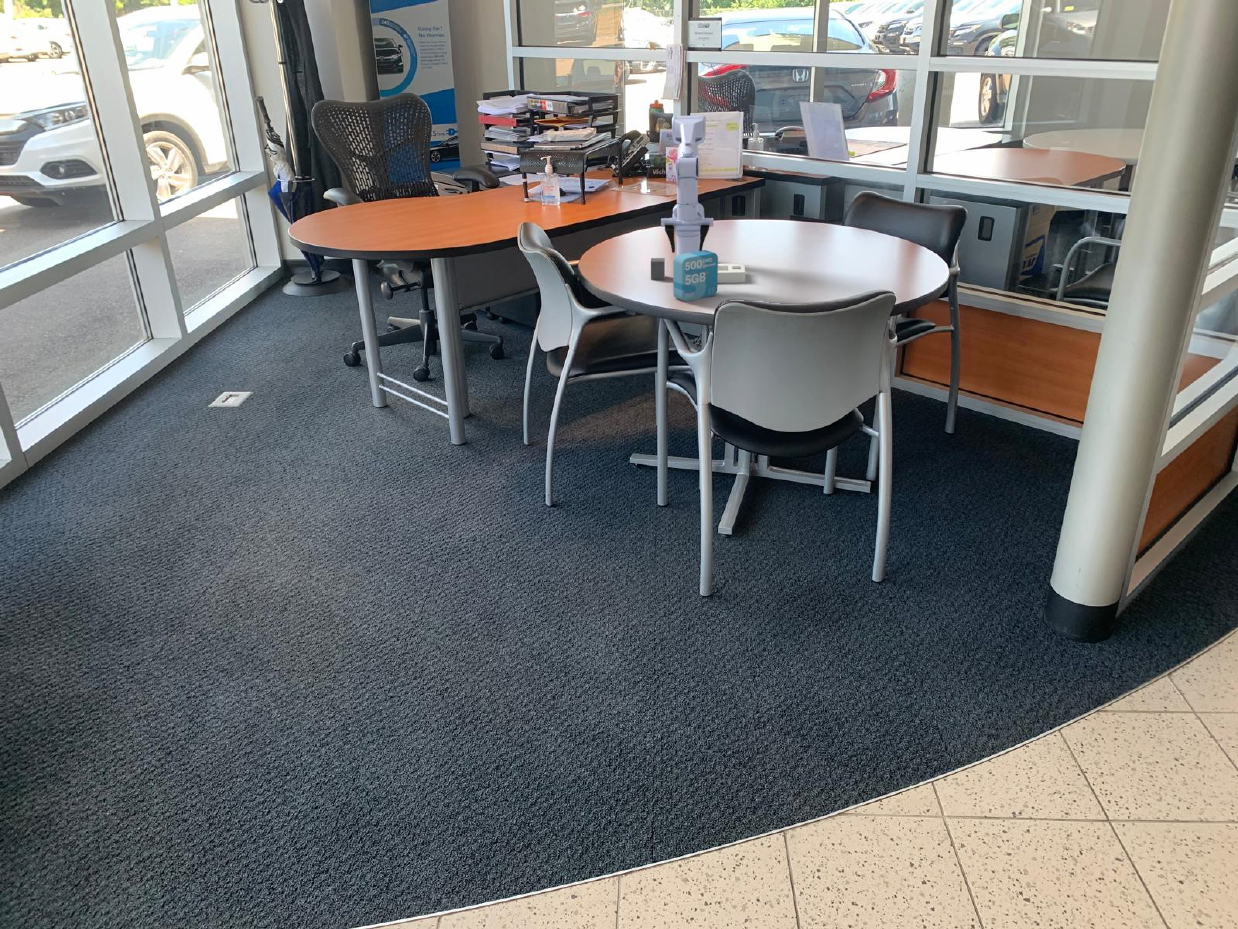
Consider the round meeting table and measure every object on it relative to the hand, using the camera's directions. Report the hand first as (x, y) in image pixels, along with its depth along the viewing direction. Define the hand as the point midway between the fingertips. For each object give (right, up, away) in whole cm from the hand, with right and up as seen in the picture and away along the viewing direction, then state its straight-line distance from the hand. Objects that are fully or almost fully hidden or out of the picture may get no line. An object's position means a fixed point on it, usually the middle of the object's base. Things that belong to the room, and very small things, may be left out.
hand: (687, 251), depth 257 cm
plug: (-8, -5, +14) cm, 16 cm away
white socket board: (+9, -5, +11) cm, 15 cm away
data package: (+2, -14, -5) cm, 15 cm away
